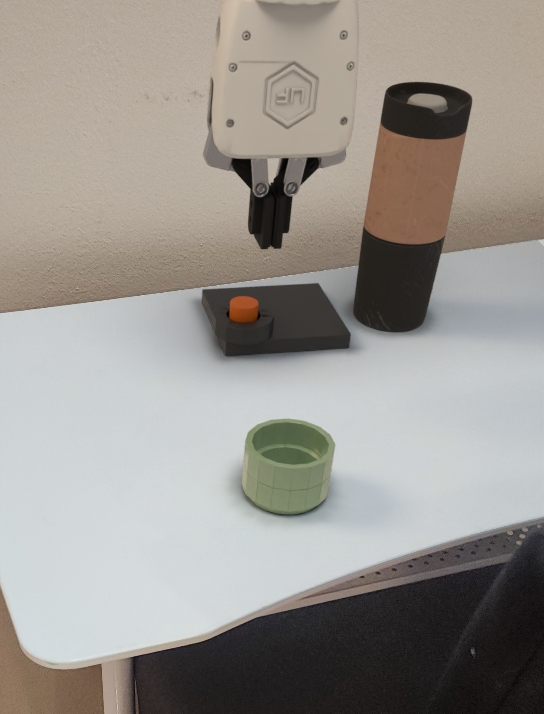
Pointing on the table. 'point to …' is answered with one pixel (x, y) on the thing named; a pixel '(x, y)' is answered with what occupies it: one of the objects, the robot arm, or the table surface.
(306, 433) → the bowl
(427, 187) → the travel mug
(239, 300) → the button
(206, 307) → the scale
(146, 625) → the table surface
